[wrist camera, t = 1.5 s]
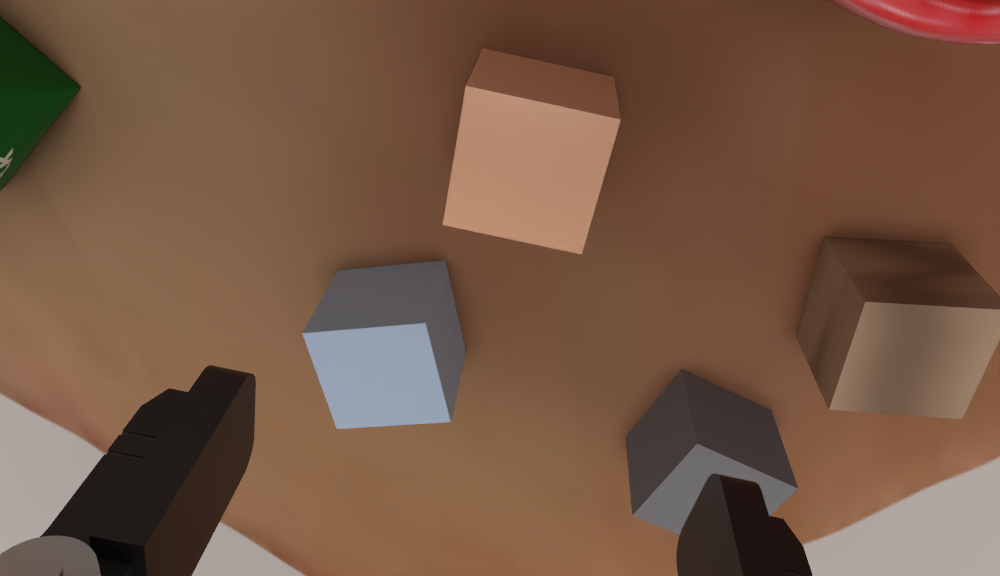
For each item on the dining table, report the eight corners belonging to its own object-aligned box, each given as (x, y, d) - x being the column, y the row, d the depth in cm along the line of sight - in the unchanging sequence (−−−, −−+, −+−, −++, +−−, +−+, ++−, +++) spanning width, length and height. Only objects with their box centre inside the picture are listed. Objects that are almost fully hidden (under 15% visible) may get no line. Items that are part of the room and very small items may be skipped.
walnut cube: (950, 242, 30) (1013, 310, 25) (911, 342, 32) (962, 419, 28) (823, 236, 30) (865, 301, 26) (795, 335, 32) (829, 409, 28)
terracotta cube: (613, 76, 27) (620, 119, 23) (580, 195, 30) (581, 254, 26) (483, 47, 27) (465, 85, 23) (461, 170, 30) (442, 224, 25)
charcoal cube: (770, 409, 35) (798, 488, 31) (710, 474, 37) (727, 555, 33) (681, 368, 34) (697, 443, 30) (625, 436, 36) (632, 515, 32)
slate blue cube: (445, 259, 32) (425, 323, 28) (466, 350, 35) (450, 421, 30) (337, 269, 33) (302, 333, 29) (365, 358, 35) (336, 428, 31)
